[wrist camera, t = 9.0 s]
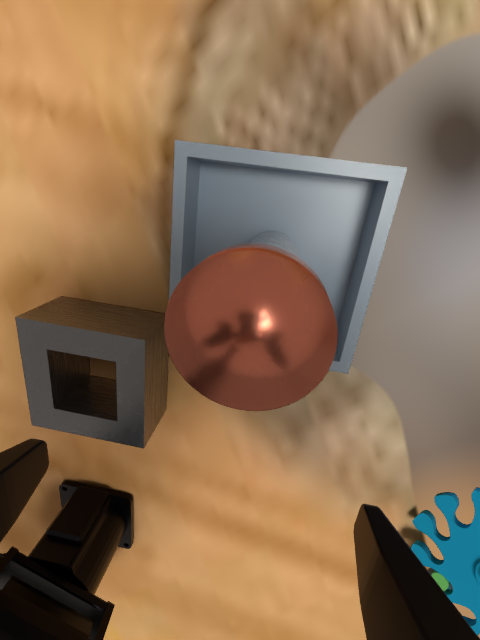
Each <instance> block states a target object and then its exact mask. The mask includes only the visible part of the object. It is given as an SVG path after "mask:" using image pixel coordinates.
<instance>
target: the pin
mask: <svg viewBox="0 0 480 640" xmlns="http://www.w3.org/2000/svg"><path fill="white" fill-rule="evenodd" d="M164 334H165V340H166V345H167V348H168V352H169V355H170V357H171V359H172V361H173V363H174V365H175V367H176V368H177V370H178V371H179V373H180V374H181V375H182V377H183V378H184V379H185V380H186V381H187V382H188V383H189V384H190V385H191V386H192V387H193V388H194V389H195V390H197V391H198V392H199V393H201V394H202V395H204V396H205V397H207V398H208V399H210V400H212V401H214V402H216V403H219V404H221V405H224V406H227V407H230V408H234V409H239V410H246V411H264V410H272V409H277V408H280V407H283V406H287V405H289V404H291V403H294V402H296V401H298V400H299V399H301V398H303V397H304V396H306V395H307V394H308V393H310V392H311V391H312V390H313V389H314V388H315V387H316V386H317V385H318V384H319V383H320V382H321V381H322V380H323V378H324V377H325V375H326V374H327V372H328V370H329V368H330V366H331V364H332V362H333V359H334V356H335V353H336V347H337V337H338V331H337V322H336V318H335V314H334V310H333V308H332V305H331V302H330V299H329V296H328V294H327V292H326V289H325V287H324V285H323V283H322V282H321V280H320V278H319V277H318V276H317V274H316V273H315V272H314V271H313V270H312V268H310V267H309V266H308V265H307V264H306V263H305V262H304V261H303V260H301V259H300V258H299V255H298V250H297V247H296V245H295V243H294V241H293V240H292V239H291V238H290V237H289V236H287V235H286V234H284V233H282V232H279V231H265V232H262V233H260V234H258V235H257V236H255V237H254V238H253V239H252V240H251V242H250V243H249V244H239V245H234V246H230V247H227V248H224V249H222V250H220V251H218V252H216V253H214V254H212V255H210V256H209V257H208V258H206V259H205V260H203V261H202V262H201V263H199V264H198V265H197V266H196V267H194V268H193V269H192V270H191V271H190V272H188V273H187V274H186V275H185V276H184V277H183V278H182V280H181V281H180V282H179V283H178V285H177V286H176V288H175V290H174V291H173V293H172V295H171V297H170V300H169V302H168V305H167V309H166V313H165V321H164Z"/></svg>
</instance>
